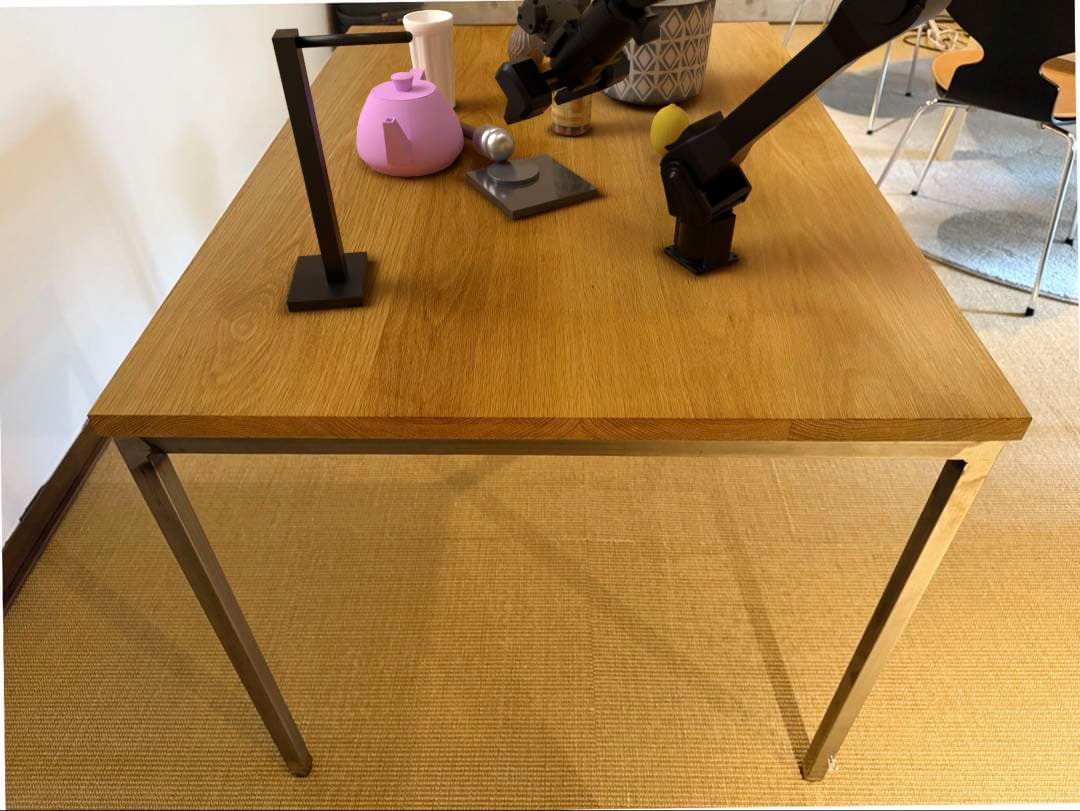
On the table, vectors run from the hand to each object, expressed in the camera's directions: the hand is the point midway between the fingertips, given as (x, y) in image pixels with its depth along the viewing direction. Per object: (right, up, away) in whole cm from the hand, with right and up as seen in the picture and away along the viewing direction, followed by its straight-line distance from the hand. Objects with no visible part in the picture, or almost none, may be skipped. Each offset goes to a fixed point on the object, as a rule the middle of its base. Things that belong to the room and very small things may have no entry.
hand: (531, 111), depth 97 cm
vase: (-2, +26, +47) cm, 54 cm away
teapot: (-18, -1, +16) cm, 24 cm away
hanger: (-19, -24, -11) cm, 32 cm away
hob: (0, -8, +7) cm, 11 cm away
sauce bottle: (+6, +6, +23) cm, 25 cm away
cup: (-16, +13, +32) cm, 38 cm away
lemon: (+20, -2, +14) cm, 24 cm away
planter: (+20, +16, +35) cm, 44 cm away
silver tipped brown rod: (-4, -2, +7) cm, 8 cm away
